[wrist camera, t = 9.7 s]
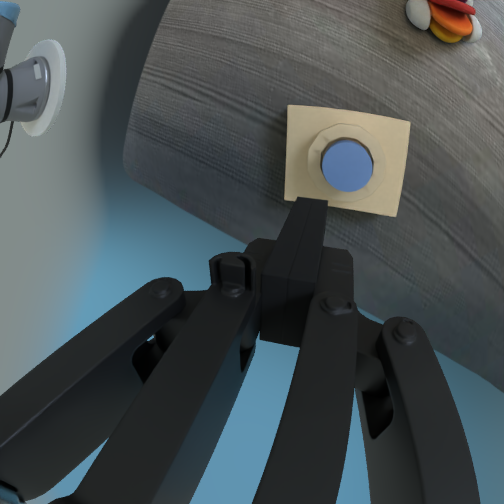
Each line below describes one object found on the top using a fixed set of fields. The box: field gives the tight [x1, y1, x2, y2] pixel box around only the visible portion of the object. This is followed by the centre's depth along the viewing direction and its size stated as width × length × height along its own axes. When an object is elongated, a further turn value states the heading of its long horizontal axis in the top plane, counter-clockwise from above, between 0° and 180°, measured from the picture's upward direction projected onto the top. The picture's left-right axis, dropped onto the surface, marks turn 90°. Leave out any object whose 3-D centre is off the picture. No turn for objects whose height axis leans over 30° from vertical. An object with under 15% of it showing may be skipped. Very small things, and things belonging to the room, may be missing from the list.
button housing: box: [284, 105, 410, 217], centre depth 25 cm, size 12×10×4 cm
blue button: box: [322, 140, 372, 192], centre depth 22 cm, size 4×4×2 cm
